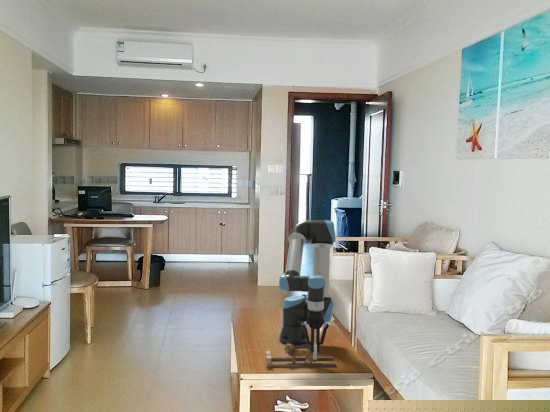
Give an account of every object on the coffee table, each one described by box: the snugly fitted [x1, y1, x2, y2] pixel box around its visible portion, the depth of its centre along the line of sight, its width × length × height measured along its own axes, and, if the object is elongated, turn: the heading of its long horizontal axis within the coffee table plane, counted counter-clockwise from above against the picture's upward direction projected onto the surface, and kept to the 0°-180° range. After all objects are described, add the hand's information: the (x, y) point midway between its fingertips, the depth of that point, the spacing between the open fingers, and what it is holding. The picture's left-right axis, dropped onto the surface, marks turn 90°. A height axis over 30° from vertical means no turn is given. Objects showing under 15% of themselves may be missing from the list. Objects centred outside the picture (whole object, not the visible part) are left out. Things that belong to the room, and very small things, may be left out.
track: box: [265, 350, 337, 368], centre depth 249 cm, size 10×32×4 cm, turn 94°
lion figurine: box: [284, 344, 317, 363], centre depth 249 cm, size 15×5×9 cm, turn 88°
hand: (314, 358), depth 250 cm, fingers closed
